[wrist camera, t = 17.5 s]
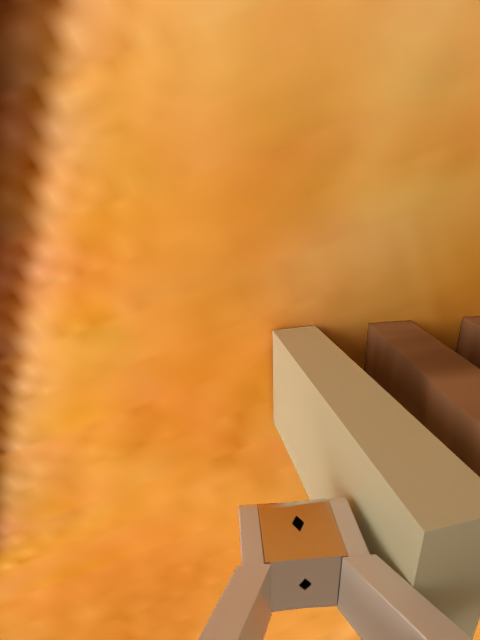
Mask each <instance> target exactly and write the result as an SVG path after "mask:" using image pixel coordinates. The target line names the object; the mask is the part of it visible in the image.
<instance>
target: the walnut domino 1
mask: <svg viewBox="0 0 480 640" xmlns="http://www.w3.org/2000/svg"><path fill="white" fill-rule="evenodd" d="M364 371H365V372H366V373H367V374H368V375H369V376H370V377H371V378H372V379H373V380H375V381H376V382H377V383H378V384H379V385H380V386H381V387H382V388H383V389H384V390H385V391H386V392H388V393H389V394H390V395H391V396H392V397H393V398H394V399H395V400H396V401H397V402H398V403H400V404H401V405H402V406H403V407H404V408H405V409H406V410H407V411H408V412H409V413H410V414H411V415H413V416H414V417H415V418H416V419H417V420H418V421H419V422H420V423H421V424H422V425H423V426H425V427H426V428H427V429H428V430H429V431H430V432H431V433H432V434H433V435H434V436H435V437H436V438H438V439H439V440H440V441H441V442H442V443H443V444H444V445H445V446H446V447H447V448H448V449H449V450H451V451H452V452H453V453H454V454H455V455H456V456H457V457H458V458H459V459H460V460H461V461H463V462H464V463H465V464H466V465H467V466H468V467H469V468H470V469H471V470H472V471H473V472H474V473H476V474H477V475H478V476H479V477H480V369H479V368H478V367H476V366H475V365H473V364H472V363H470V362H469V361H468V360H466V359H465V358H463V357H462V356H460V355H459V354H458V353H456V352H455V351H453V350H452V349H451V348H449V347H448V346H446V345H445V344H443V343H442V342H441V341H439V340H438V339H436V338H435V337H433V336H432V335H431V334H429V333H428V332H426V331H425V330H424V329H422V328H421V327H419V326H418V325H416V324H415V323H414V322H412V321H395V322H380V323H368V334H367V344H366V354H365V364H364Z"/></svg>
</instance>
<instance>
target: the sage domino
mask: <svg viewBox="0 0 480 640" xmlns="http://www.w3.org/2000/svg"><path fill="white" fill-rule="evenodd" d="M273 399H274V424H275V426H276V428H277V430H278V432H279V434H280V437H281V439H282V441H283V443H284V445H285V447H286V449H287V452H288V454H289V456H290V458H291V460H292V462H293V464H294V467H295V469H296V471H297V473H298V475H299V477H300V480H301V482H302V484H303V486H304V488H305V490H306V492H307V495H308V497H309V499H310V500H315V499H325V498H326V499H330V498H343V497H345V498H346V499H347V500H348V503H349V505H350V507H351V510H352V512H353V515H354V517H355V519H356V522H357V524H358V526H359V529H360V531H361V534H362V536H363V538H364V541H365V543H366V546H367V548H368V550H369V553H370V554H376V555H377V556H378V557H380V558H381V559H382V560H383V561H384V562H385V563H386V564H387V565H389V566H390V567H391V568H392V569H393V570H394V571H395V572H396V573H398V574H399V575H400V576H401V577H402V578H403V579H404V580H406V581H407V582H408V583H409V584H410V585H411V586H412V587H413V588H415V589H416V590H417V591H418V592H419V593H420V594H421V595H422V596H424V597H425V598H426V599H427V600H428V601H429V602H430V603H432V604H433V605H434V606H435V607H436V608H437V609H438V610H439V611H441V612H442V613H443V614H444V615H445V616H446V617H447V618H448V619H450V620H451V621H452V622H453V623H454V624H455V625H456V626H457V627H459V628H460V629H461V630H462V631H463V632H464V633H465V634H467V635H468V636H469V637H470V639H471V640H472V639H473V636H474V633H475V630H476V627H477V624H478V621H479V618H480V477H479V476H478V475H477V474H476V473H474V472H473V471H472V470H471V469H470V468H469V467H468V466H467V465H466V464H465V463H464V462H463V461H461V460H460V459H459V458H458V457H457V456H456V455H455V454H454V453H453V452H452V451H451V450H449V449H448V448H447V447H446V446H445V445H444V444H443V443H442V442H441V441H440V440H439V439H438V438H436V437H435V436H434V435H433V434H432V433H431V432H430V431H429V430H428V429H427V428H426V427H425V426H423V425H422V424H421V423H420V422H419V421H418V420H417V419H416V418H415V417H414V416H413V415H411V414H410V413H409V412H408V411H407V410H406V409H405V408H404V407H403V406H402V405H401V404H400V403H398V402H397V401H396V400H395V399H394V398H393V397H392V396H391V395H390V394H389V393H388V392H386V391H385V390H384V389H383V388H382V387H381V386H380V385H379V384H378V383H377V382H376V381H375V380H373V379H372V378H371V377H370V376H369V375H368V374H367V373H366V372H365V371H364V370H363V369H362V368H360V367H359V366H358V365H357V364H356V363H355V362H354V361H353V360H352V359H351V358H350V357H348V356H347V355H346V354H345V353H344V352H343V351H342V350H341V349H340V348H339V347H338V346H337V345H335V344H334V343H333V342H332V341H331V340H330V339H329V338H328V337H327V336H326V335H325V334H323V333H322V332H321V331H320V330H319V329H318V328H317V327H316V326H315V325H313V326H305V327H297V328H289V329H281V330H273Z"/></svg>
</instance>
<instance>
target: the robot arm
mask: <svg viewBox="0 0 480 640" xmlns="http://www.w3.org/2000/svg"><path fill="white" fill-rule="evenodd" d="M239 527H240V546H241V563H242V566H236V568H235V570H234V572H233V574H232V576H231V578H230V580H229V582H228V584H227V586H226V588H225V590H224V591H223V593H222V595H221V597H220V599H219V601H218V603H217V605H216V607H215V609H214V611H213V613H212V615H211V616H210V618H209V620H208V622H207V624H206V626H205V628H204V630H203V632H202V634H201V636H200V638H199V640H263V638H264V635H265V632H266V630H267V627H268V624H269V621H270V618H271V615H272V613H271V612H276V611H284V610H292V609H300V608H312V607H329V606H338V607H337V608H338V609H339V611H340V612H341V613H342V615H343V616H344V617H345V618H346V620H347V621H348V622H349V624H350V625H351V626H352V627H353V629H354V630H355V631H356V633H357V634H358V635H359V636H360V638H361V639H362V640H471V639H470V637H469V636H468V635H467V634H465V633H464V632H463V631H462V630H461V629H460V628H459V627H457V626H456V625H455V624H454V623H453V622H452V621H451V620H450V619H448V618H447V617H446V616H445V615H444V614H443V613H442V612H441V611H439V610H438V609H437V608H436V607H435V606H434V605H433V604H432V603H430V602H429V601H428V600H427V599H426V598H425V597H424V596H422V595H421V594H420V593H419V592H418V591H417V590H416V589H415V588H413V587H412V586H411V585H410V584H409V583H408V582H407V581H406V580H404V579H403V578H402V577H401V576H400V575H399V574H398V573H396V572H395V571H394V570H393V569H392V568H391V567H390V566H389V565H387V564H386V563H385V562H384V561H383V560H382V559H381V558H380V557H378V556H377V555H376V554H370V553H369V550H368V548H367V546H366V543H365V541H364V538H363V536H362V534H361V531H360V529H359V526H358V524H357V522H356V519H355V517H354V515H353V512H352V510H351V507H350V505H349V503H348V500H347V499H346V498H345V497H343V498H330V499H326V498H325V499H315V500H304V501H293V502H289V503H269V504H253V505H239Z"/></svg>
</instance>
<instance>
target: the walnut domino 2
mask: <svg viewBox="0 0 480 640" xmlns="http://www.w3.org/2000/svg"><path fill="white" fill-rule="evenodd" d="M456 353H458V354H459V355H460V356H462V357H463V358H465V359H466V360H468V361H469V362H470V363H472V364H473V365H475V366H476V367H478V368H479V369H480V316H473V317H463V319H462V324H461V329H460V334H459V339H458V344H457V349H456Z"/></svg>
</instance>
